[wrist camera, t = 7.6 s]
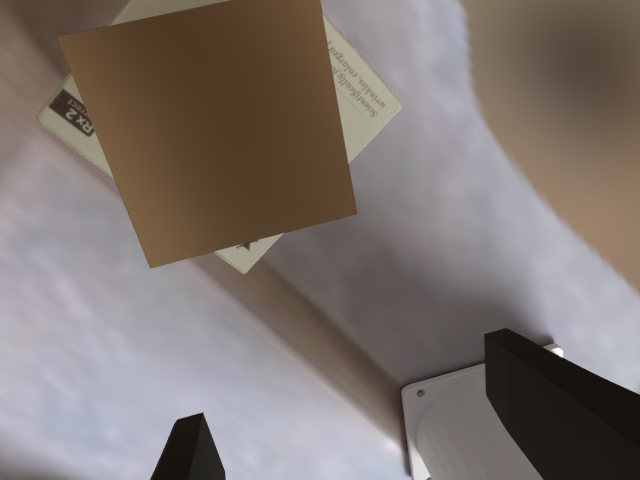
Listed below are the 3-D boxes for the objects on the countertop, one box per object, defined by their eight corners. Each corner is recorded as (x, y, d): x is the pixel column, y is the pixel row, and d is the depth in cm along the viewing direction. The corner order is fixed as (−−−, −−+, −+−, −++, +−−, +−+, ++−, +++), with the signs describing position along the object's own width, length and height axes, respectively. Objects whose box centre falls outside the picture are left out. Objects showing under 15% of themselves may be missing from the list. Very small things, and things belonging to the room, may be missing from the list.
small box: (364, 90, 19) (411, 109, 15) (237, 226, 21) (244, 283, 16) (215, -75, 16) (215, -117, 12) (74, 98, 17) (23, 123, 13)
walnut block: (288, -5, 13) (317, -18, 9) (323, 169, 15) (356, 213, 11) (102, 35, 12) (56, 37, 9) (166, 209, 14) (150, 268, 11)
